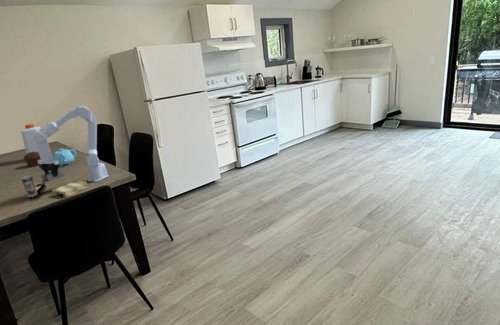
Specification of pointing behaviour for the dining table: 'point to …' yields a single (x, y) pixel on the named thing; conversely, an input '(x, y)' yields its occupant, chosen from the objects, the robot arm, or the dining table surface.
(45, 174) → the housing
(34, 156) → the muffin
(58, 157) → the teapot
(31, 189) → the beer can
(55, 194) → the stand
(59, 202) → the dining table surface
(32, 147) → the plastic bottle
